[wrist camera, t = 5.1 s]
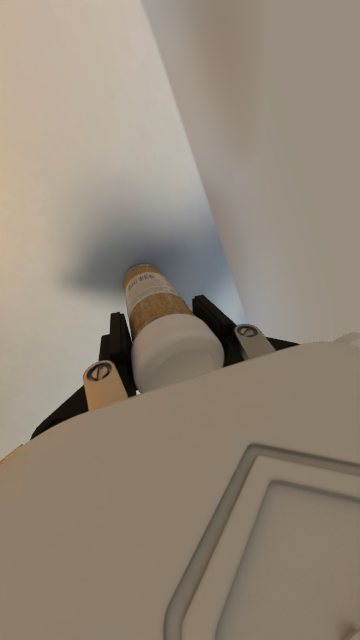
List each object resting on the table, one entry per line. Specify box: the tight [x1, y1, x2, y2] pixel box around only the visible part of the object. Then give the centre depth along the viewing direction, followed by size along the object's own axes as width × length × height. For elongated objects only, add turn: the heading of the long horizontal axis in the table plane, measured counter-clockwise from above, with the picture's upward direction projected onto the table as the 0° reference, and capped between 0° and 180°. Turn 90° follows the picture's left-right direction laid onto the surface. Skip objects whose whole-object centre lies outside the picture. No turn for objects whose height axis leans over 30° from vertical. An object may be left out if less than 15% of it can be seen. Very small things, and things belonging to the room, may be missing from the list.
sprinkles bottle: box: [123, 264, 224, 394], centre depth 14 cm, size 5×5×14 cm
